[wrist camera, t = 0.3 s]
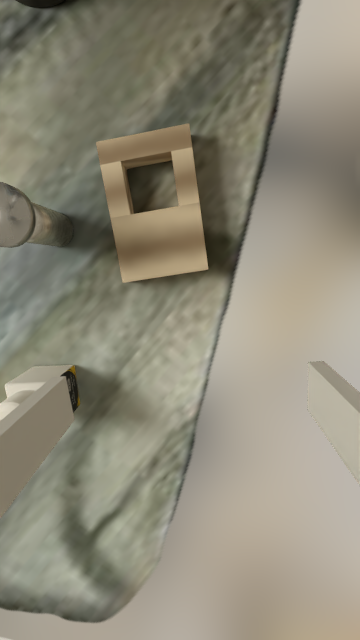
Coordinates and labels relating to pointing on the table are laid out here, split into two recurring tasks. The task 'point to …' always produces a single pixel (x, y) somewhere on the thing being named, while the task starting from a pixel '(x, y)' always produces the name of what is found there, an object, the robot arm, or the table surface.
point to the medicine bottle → (38, 386)
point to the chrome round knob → (30, 221)
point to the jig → (158, 225)
